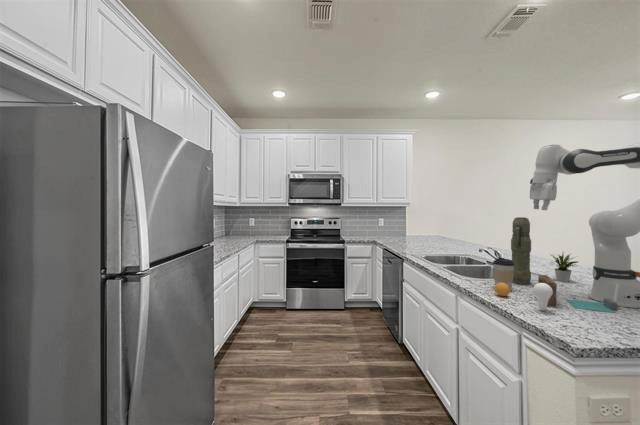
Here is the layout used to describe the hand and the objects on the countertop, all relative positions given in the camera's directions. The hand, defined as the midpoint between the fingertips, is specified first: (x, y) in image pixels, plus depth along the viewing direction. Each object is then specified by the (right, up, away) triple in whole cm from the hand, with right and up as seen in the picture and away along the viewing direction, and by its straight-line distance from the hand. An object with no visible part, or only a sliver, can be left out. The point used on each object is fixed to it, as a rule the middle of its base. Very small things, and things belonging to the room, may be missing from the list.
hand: (539, 209), depth 135 cm
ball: (-20, -37, -3) cm, 42 cm away
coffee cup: (-12, -40, +8) cm, 42 cm away
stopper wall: (+13, -40, -20) cm, 46 cm away
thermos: (+4, -39, +18) cm, 43 cm away
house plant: (+28, -39, +21) cm, 52 cm away
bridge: (-5, -40, -10) cm, 42 cm away
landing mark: (+7, -40, -17) cm, 44 cm away
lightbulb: (-16, -40, -22) cm, 48 cm away
